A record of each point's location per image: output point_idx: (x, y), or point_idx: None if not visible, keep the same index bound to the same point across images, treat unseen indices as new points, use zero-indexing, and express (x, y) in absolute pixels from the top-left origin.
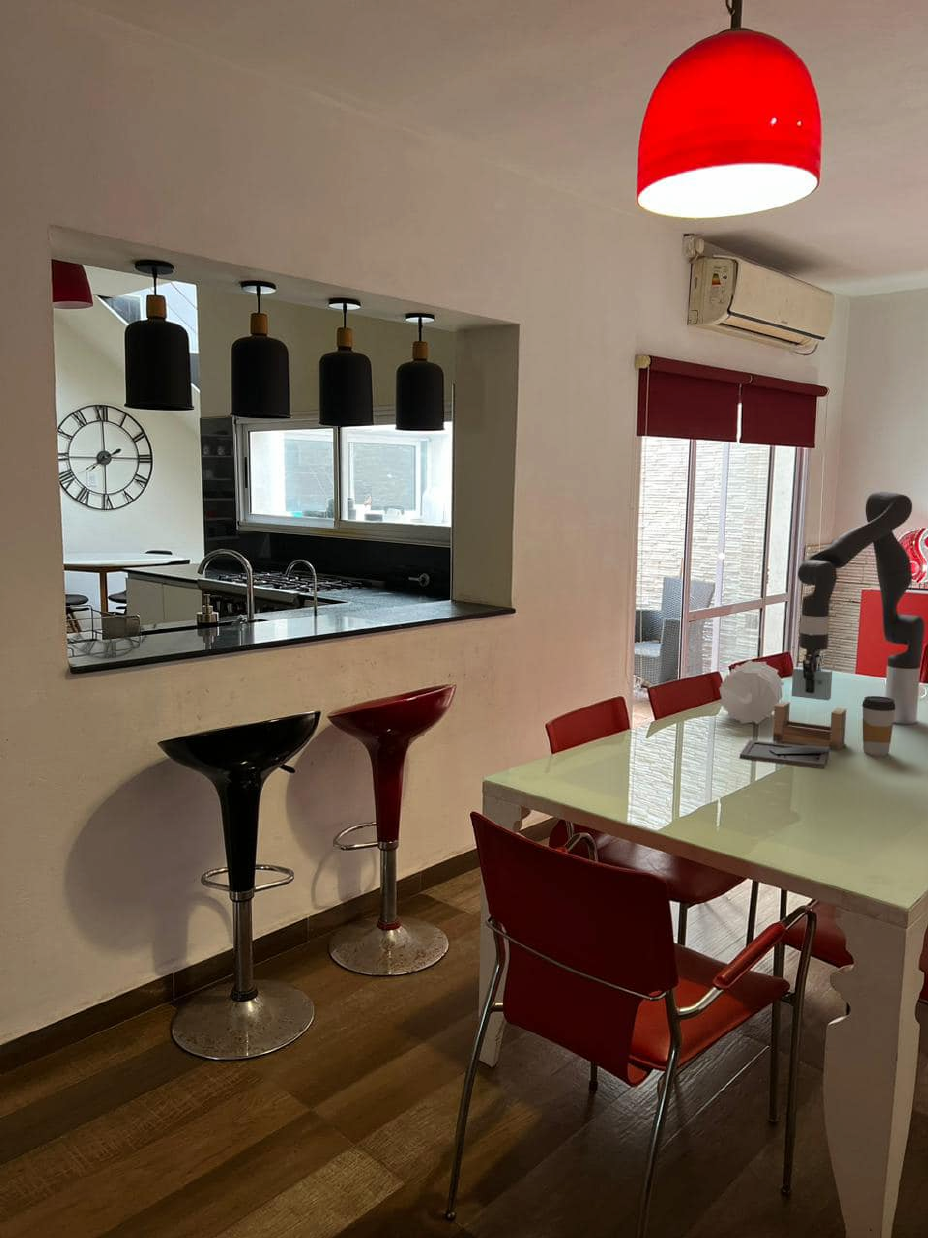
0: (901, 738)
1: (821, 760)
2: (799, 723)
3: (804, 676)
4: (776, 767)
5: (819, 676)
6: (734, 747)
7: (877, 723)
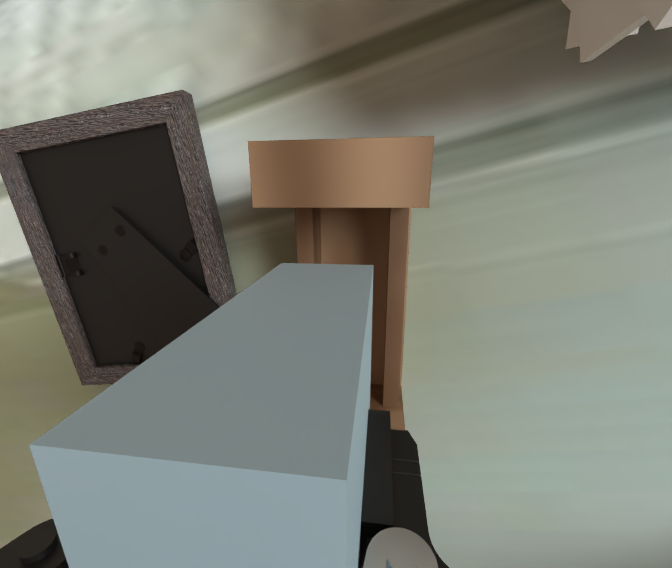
0: (571, 541)
1: (114, 374)
2: (388, 261)
3: (7, 556)
4: (5, 267)
5: None
6: (101, 60)
7: None
